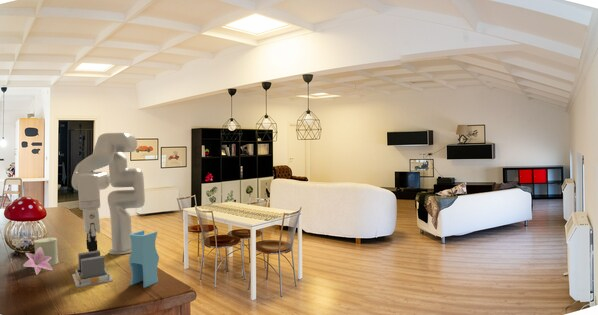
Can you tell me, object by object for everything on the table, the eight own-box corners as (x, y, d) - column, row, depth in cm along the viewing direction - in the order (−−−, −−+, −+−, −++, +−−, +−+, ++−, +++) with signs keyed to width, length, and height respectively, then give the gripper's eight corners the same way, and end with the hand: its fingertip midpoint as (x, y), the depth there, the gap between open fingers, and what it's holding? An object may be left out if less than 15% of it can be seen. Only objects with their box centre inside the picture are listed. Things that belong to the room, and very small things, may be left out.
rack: (105, 269, 180) (104, 248, 180) (112, 280, 165) (111, 257, 165) (72, 275, 173) (70, 253, 173) (76, 288, 158) (75, 263, 158)
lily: (18, 280, 173) (26, 261, 171) (16, 263, 181) (24, 245, 180) (49, 281, 181) (57, 263, 179) (46, 265, 189) (54, 248, 188)
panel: (103, 277, 168) (102, 255, 168) (105, 279, 166) (103, 257, 165) (81, 281, 164) (80, 259, 163) (83, 283, 161) (81, 261, 161)
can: (47, 267, 186) (46, 241, 185) (30, 266, 187) (28, 241, 187) (63, 261, 195) (61, 236, 194) (46, 260, 196) (45, 236, 196)
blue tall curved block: (160, 280, 164) (157, 231, 163) (145, 287, 157) (142, 236, 156) (145, 278, 167) (143, 230, 166) (130, 285, 160) (127, 234, 159)
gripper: (103, 206, 159) (105, 252, 159) (97, 201, 172) (99, 244, 173) (81, 208, 154) (84, 256, 155) (76, 203, 168) (79, 247, 169)
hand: (92, 249), depth 164 cm, fingers open, 3 cm apart
